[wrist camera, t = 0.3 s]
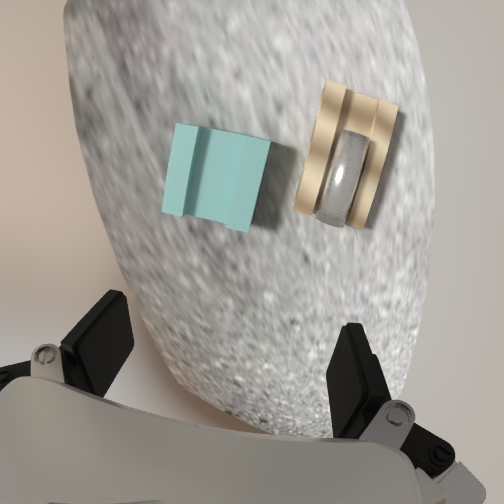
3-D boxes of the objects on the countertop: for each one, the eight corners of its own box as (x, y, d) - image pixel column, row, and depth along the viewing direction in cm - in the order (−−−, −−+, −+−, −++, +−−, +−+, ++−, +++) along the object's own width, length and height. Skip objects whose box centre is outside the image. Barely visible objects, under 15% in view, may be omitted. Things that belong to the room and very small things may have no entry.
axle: (337, 129, 33) (343, 128, 30) (365, 139, 33) (374, 139, 30) (313, 213, 38) (316, 221, 34) (340, 221, 38) (346, 229, 34)
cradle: (186, 124, 36) (176, 123, 32) (271, 141, 36) (270, 141, 32) (171, 205, 40) (161, 212, 37) (251, 224, 40) (248, 233, 37)
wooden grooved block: (324, 83, 32) (327, 79, 30) (392, 107, 32) (398, 106, 30) (292, 206, 39) (293, 210, 37) (358, 225, 39) (362, 230, 37)
